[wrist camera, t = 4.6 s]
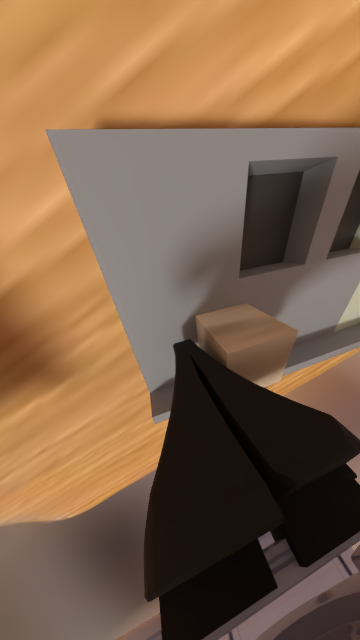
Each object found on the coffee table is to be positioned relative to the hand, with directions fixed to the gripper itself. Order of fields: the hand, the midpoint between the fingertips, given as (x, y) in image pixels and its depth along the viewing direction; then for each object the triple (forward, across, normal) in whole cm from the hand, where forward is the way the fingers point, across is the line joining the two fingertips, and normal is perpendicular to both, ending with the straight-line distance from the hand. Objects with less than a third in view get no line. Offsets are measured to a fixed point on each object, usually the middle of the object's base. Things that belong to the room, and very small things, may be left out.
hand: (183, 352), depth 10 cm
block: (+1, -3, 0) cm, 4 cm away
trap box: (+3, -10, -2) cm, 10 cm away
